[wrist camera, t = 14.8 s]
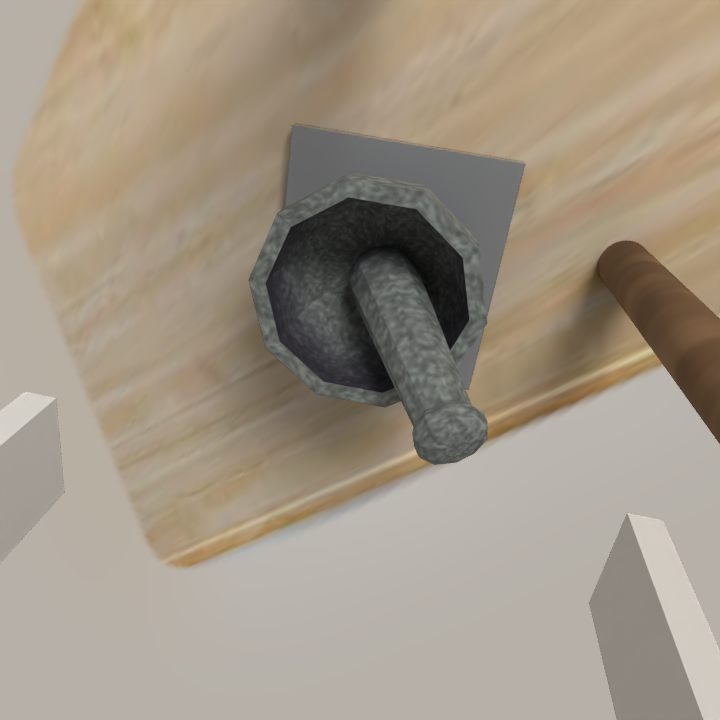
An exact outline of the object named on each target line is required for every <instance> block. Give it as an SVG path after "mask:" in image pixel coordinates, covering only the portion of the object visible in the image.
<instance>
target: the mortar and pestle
mask: <svg viewBox="0 0 720 720" xmlns="http://www.w3.org/2000/svg"><path fill="white" fill-rule="evenodd" d="M249 284H250V288H251V292H252V296H253V300H254V304H255V308H256V312H257V316H258V320H259V324H260V328H261V332H262V336H263V340H264V344H265V348H266V349H267V350H269V351H270V352H271V353H272V354H273V355H274V356H275V357H276V358H277V359H278V360H280V361H281V362H282V363H283V364H284V365H285V366H286V367H287V368H288V369H289V370H291V371H292V372H293V373H294V374H295V375H296V376H297V377H298V378H299V379H300V380H302V381H303V382H304V383H305V384H306V385H307V386H308V387H309V388H310V389H311V390H313V391H314V392H315V393H316V394H318V395H323V396H328V397H333V398H339V399H344V400H349V401H354V402H360V403H365V404H370V405H375V406H381V407H387V406H390V405H392V404H395V403H397V402H400V401H402V403H403V406H404V408H405V410H406V412H407V414H408V416H409V418H410V420H411V422H412V424H413V427H414V429H413V432H412V433H413V440H414V447H415V449H416V451H417V454H418V456H419V457H420V458H421V459H423V460H426V461H428V462H430V463H432V464H435V465H437V464H446V463H455V462H458V461H460V460H462V459H464V458H466V457H468V456H470V455H472V454H474V453H475V452H476V451H477V450H478V449H479V448H480V446H481V445H482V444H483V443H484V442H485V441H486V440H487V420H486V418H485V416H484V414H483V412H482V411H480V410H478V409H477V408H475V407H473V406H472V405H471V403H470V400H469V398H468V395H467V392H466V390H465V387H464V385H463V382H462V380H461V377H460V375H459V372H458V370H457V369H458V368H459V366H460V364H461V363H462V361H463V360H464V358H465V357H466V355H467V354H468V352H469V351H470V349H471V347H472V346H473V344H474V343H475V341H476V340H477V338H478V337H479V335H480V334H481V332H482V330H483V329H484V327H485V326H486V324H487V317H486V307H485V296H484V285H483V275H482V264H481V254H480V246H479V241H478V240H477V239H476V238H475V237H474V236H473V235H472V234H471V233H470V231H469V230H468V229H467V228H466V227H465V226H464V225H463V224H462V223H461V222H460V221H459V220H458V219H457V218H456V217H455V216H454V214H453V213H452V212H451V211H450V210H449V209H448V208H447V207H446V206H445V205H444V204H443V203H442V202H441V201H440V200H439V199H438V197H437V196H436V195H435V194H434V193H433V192H432V191H431V190H430V189H429V188H428V187H427V186H426V185H424V184H418V183H412V182H406V181H400V180H394V179H389V178H383V177H377V176H371V175H365V174H359V173H349V174H347V175H345V176H343V177H341V178H339V179H337V180H335V181H334V182H332V183H330V184H328V185H326V186H324V187H322V188H320V189H318V190H316V191H315V192H313V193H311V194H309V195H307V196H305V197H303V198H301V199H299V200H298V201H296V202H294V203H292V204H290V205H288V206H286V207H285V208H283V209H282V210H281V211H280V212H279V213H278V214H277V215H276V218H275V220H274V222H273V225H272V227H271V229H270V232H269V234H268V236H267V239H266V241H265V243H264V246H263V248H262V250H261V252H260V255H259V257H258V259H257V262H256V264H255V266H254V269H253V271H252V273H251V276H250V278H249Z"/></svg>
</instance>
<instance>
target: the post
mask: <svg viewBox="0 0 720 720" xmlns="http://www.w3.org/2000/svg"><path fill="white" fill-rule="evenodd" d="M598 272H599V275H600V277H601V279H602V280H603V281H604V283H605V284H606V286H607V287H608V288H609V290H610V291H611V293H612V294H613V295H614V297H615V298H616V300H617V301H618V302H619V304H620V305H621V307H622V308H623V309H624V311H625V312H626V313H627V315H628V316H629V318H630V319H631V320H632V322H633V323H634V325H635V326H636V327H637V329H638V330H639V332H640V333H641V334H642V336H643V337H644V339H645V340H646V341H647V343H648V344H649V346H650V347H651V348H652V350H653V351H654V353H655V354H656V355H657V357H658V358H659V360H660V361H661V362H662V364H663V365H664V367H665V368H666V369H667V371H668V372H669V374H670V375H671V376H672V378H673V379H674V381H675V382H676V383H677V385H678V386H679V387H680V389H681V390H682V392H683V393H684V394H685V396H686V397H687V399H688V400H689V402H690V403H691V404H692V406H693V407H694V408H695V410H696V411H697V413H698V414H699V415H700V417H701V418H702V420H703V421H704V423H705V424H706V425H707V427H708V428H709V429H710V431H711V432H712V434H713V435H714V436H715V438H716V439H717V441H718V442H719V443H720V318H718V317H717V316H716V315H715V314H714V313H713V312H712V311H711V310H710V309H709V308H708V307H707V306H706V305H705V304H704V303H702V302H701V301H700V300H699V299H698V298H697V297H696V296H695V295H694V294H693V293H692V292H691V291H690V290H689V289H688V288H686V287H685V286H684V285H683V284H682V283H681V282H680V281H679V280H678V279H677V278H676V277H675V276H674V275H673V274H672V273H670V272H669V271H668V270H667V269H666V268H665V267H664V266H663V265H662V264H661V263H660V262H659V261H658V260H657V259H656V258H654V257H653V256H652V255H651V254H650V253H649V252H648V251H647V250H646V249H645V248H644V247H643V246H641V245H640V244H638V243H636V242H633V241H620V242H617V243H614V244H613V245H611V246H609V247H608V248H607V249H606V250H605V251H604V252H603V254H602V255H601V257H600V259H599V263H598Z"/></svg>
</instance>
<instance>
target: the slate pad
mask: <svg viewBox="0 0 720 720" xmlns="http://www.w3.org/2000/svg"><path fill="white" fill-rule="evenodd" d="M524 167H525V163H524V162H522V161H516V160H510V159H504V158H498V157H492V156H486V155H480V154H474V153H469V152H463V151H457V150H451V149H445V148H439V147H433V146H427V145H421V144H415V143H409V142H403V141H397V140H391V139H385V138H379V137H373V136H367V135H361V134H355V133H349V132H343V131H337V130H331V129H325V128H319V127H313V126H307V125H301V124H294V125H292V135H291V146H290V157H289V168H288V179H287V190H286V201H285V207H286V206H288V205H290V204H292V203H294V202H296V201H298V200H299V199H301V198H303V197H305V196H307V195H309V194H311V193H313V192H315V191H316V190H318V189H320V188H322V187H324V186H326V185H328V184H330V183H332V182H334V181H335V180H337V179H339V178H341V177H343V176H345V175H347V174H349V173H359V174H365V175H371V176H377V177H383V178H389V179H394V180H400V181H406V182H412V183H418V184H424V185H426V186H427V187H428V188H429V189H430V190H431V191H432V192H433V193H434V194H435V195H436V196H437V197H438V199H439V200H440V201H441V202H442V203H443V204H444V205H445V206H446V207H447V208H448V209H449V210H450V211H451V212H452V213H453V214H454V216H455V217H456V218H457V219H458V220H459V221H460V222H461V223H462V224H463V225H464V226H465V227H466V228H467V229H468V230H469V231H470V233H471V234H472V235H473V236H474V237H475V238H476V239H477V240H478V241H479V246H480V254H481V264H482V275H483V285H484V296H485V307H486V317H487V315H488V311H489V307H490V303H491V299H492V295H493V291H494V287H495V283H496V279H497V275H498V271H499V267H500V263H501V259H502V255H503V251H504V247H505V243H506V239H507V235H508V231H509V227H510V223H511V219H512V215H513V211H514V207H515V203H516V199H517V195H518V191H519V187H520V183H521V179H522V175H523V171H524ZM483 331H484V329H483V330H482V332H481V334H480V335H479V337H478V338H477V340H476V341H475V343H474V344H473V346H472V347H471V349H470V351H469V352H468V354H467V355H466V357H465V358H464V360H463V361H462V363H461V364H460V366H459V368H458V369H457V370H458V372H459V375H460V377H461V380H462V382H463V385H464V387H465V389H467V390H469V387H470V383H471V379H472V375H473V371H474V367H475V363H476V359H477V355H478V351H479V347H480V343H481V339H482V335H483Z"/></svg>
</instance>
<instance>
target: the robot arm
mask: <svg viewBox="0 0 720 720" xmlns="http://www.w3.org/2000/svg"><path fill="white" fill-rule="evenodd" d="M63 481H64V480H63V469H62V458H61V446H60V434H59V423H58V411H57V402H56V398H53V397H49V396H44V395H39V394H34V393H29V392H24V393H23V394H21V395H20V396H19V397H18V398H16V399H15V400H14V401H12V402H11V403H10V404H8V405H7V406H6V407H5V408H3V409H2V410H1V411H0V563H1V562H2V561H3V560H4V559H5V558H6V556H8V554H9V553H10V552H11V551H12V550H13V549H14V548H15V547H16V546H17V544H18V543H19V542H20V541H21V540H22V539H23V538H24V537H25V535H26V534H27V533H28V532H29V531H30V530H31V529H32V528H33V527H34V526H35V524H36V523H37V522H38V521H39V520H40V519H41V518H42V516H44V514H45V513H46V512H47V511H48V510H49V509H50V508H51V507H52V505H53V504H54V503H55V502H56V501H57V500H58V499H59V498H60V497H61V496H62V494H63V493H64V492H65V491H64V482H63ZM589 604H590V609H591V612H592V617H593V621H594V626H595V630H596V634H597V638H598V642H599V646H600V651H601V655H602V659H603V663H604V668H605V672H606V676H607V680H608V684H609V689H610V692H611V697H612V701H613V705H614V710H615V714H616V718H617V720H720V649H719V647H718V645H717V643H716V640H715V638H714V636H713V633H712V631H711V629H710V627H709V624H708V622H707V620H706V617H705V615H704V613H703V611H702V608H701V606H700V604H699V601H698V599H697V597H696V595H695V592H694V590H693V588H692V585H691V584H690V581H689V579H688V577H687V574H686V572H685V570H684V567H683V565H682V563H681V560H680V558H679V556H678V554H677V551H676V549H675V547H674V544H673V542H672V540H671V538H670V536H669V533H668V531H667V528H666V526H665V524H664V522H663V520H660V519H655V518H650V517H645V516H640V515H635V514H630V513H627V515H626V517H625V520H624V522H623V524H622V527H621V529H620V531H619V534H618V536H617V539H616V541H615V543H614V545H613V548H612V550H611V552H610V555H609V557H608V559H607V562H606V564H605V566H604V569H603V571H602V574H601V576H600V578H599V581H598V583H597V585H596V588H595V590H594V592H593V595H592V597H591V599H590V602H589Z"/></svg>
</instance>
